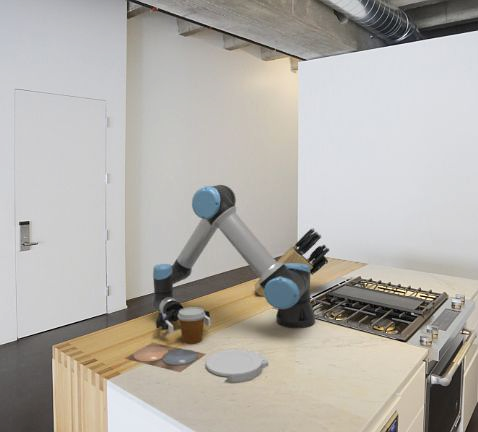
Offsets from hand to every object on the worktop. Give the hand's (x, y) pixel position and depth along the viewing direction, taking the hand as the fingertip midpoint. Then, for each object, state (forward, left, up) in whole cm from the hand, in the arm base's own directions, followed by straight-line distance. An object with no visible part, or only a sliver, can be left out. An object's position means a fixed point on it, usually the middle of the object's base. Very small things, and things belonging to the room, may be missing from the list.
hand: (191, 326), depth 152 cm
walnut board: (+1, +14, -7) cm, 16 cm away
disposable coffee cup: (0, 0, -7) cm, 7 cm away
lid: (-23, +9, -7) cm, 25 cm away
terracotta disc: (+6, +15, -5) cm, 17 cm away
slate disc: (-4, +13, -5) cm, 15 cm away
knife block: (-8, -72, -7) cm, 73 cm away
